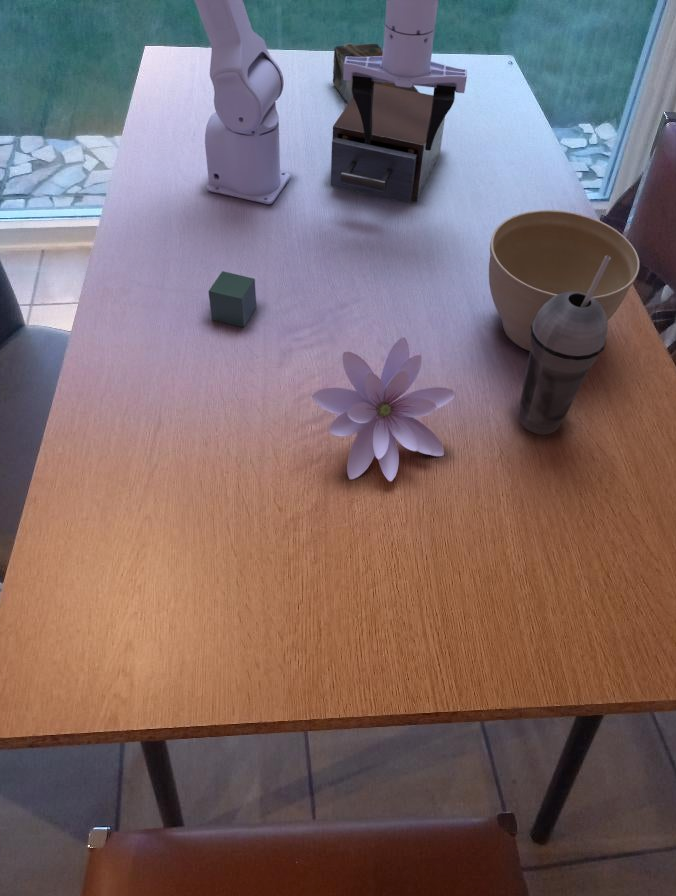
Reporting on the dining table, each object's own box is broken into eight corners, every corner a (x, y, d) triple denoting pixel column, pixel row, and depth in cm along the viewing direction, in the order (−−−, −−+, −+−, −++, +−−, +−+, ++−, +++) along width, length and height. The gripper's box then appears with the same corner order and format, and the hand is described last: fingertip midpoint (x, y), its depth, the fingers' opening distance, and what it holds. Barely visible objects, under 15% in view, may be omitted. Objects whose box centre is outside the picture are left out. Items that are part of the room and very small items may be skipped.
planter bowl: (464, 288, 96) (480, 207, 88) (589, 289, 98) (617, 210, 89) (485, 376, 87) (505, 295, 78) (624, 376, 88) (658, 297, 80)
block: (211, 319, 90) (208, 290, 86) (225, 299, 92) (222, 270, 89) (244, 327, 89) (241, 298, 86) (256, 307, 91) (254, 278, 88)
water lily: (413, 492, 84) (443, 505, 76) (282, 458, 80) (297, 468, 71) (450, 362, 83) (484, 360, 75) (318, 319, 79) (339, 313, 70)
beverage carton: (376, 80, 130) (379, 37, 125) (419, 135, 120) (424, 90, 115) (331, 84, 128) (332, 40, 123) (371, 140, 118) (374, 95, 113)
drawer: (401, 221, 103) (405, 176, 98) (319, 203, 104) (320, 158, 99) (431, 157, 114) (437, 113, 109) (358, 141, 115) (360, 98, 110)
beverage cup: (499, 395, 85) (544, 232, 69) (564, 395, 86) (623, 233, 70) (512, 444, 80) (564, 282, 65) (580, 443, 81) (647, 282, 65)
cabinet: (416, 202, 108) (424, 145, 101) (331, 183, 109) (332, 126, 103) (440, 153, 117) (447, 98, 110) (360, 136, 118) (363, 81, 112)
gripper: (342, 32, 85) (338, 152, 96) (473, 46, 85) (454, 165, 96) (349, 7, 89) (344, 125, 100) (473, 21, 89) (455, 137, 100)
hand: (398, 143), depth 98 cm, fingers open, 7 cm apart
